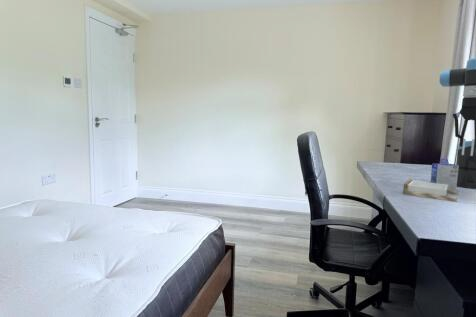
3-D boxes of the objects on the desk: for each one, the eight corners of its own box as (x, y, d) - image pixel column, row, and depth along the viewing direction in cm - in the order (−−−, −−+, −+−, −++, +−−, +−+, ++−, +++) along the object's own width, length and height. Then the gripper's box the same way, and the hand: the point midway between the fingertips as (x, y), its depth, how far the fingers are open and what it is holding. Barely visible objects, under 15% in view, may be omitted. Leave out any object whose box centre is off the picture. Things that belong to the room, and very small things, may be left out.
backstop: (457, 194, 144) (459, 184, 143) (456, 201, 131) (458, 190, 130) (408, 188, 155) (409, 178, 155) (402, 193, 142) (403, 183, 141)
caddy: (447, 193, 145) (448, 184, 145) (445, 199, 134) (446, 189, 133) (411, 188, 153) (412, 180, 153) (406, 193, 142) (407, 185, 141)
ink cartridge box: (449, 188, 157) (452, 158, 155) (456, 191, 151) (460, 160, 149) (428, 187, 157) (432, 158, 155) (435, 190, 151) (438, 159, 150)
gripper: (450, 96, 132) (444, 154, 135) (498, 96, 124) (491, 157, 127) (451, 98, 139) (445, 152, 141) (497, 97, 130) (490, 156, 133)
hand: (467, 155), depth 134 cm, fingers open, 2 cm apart
